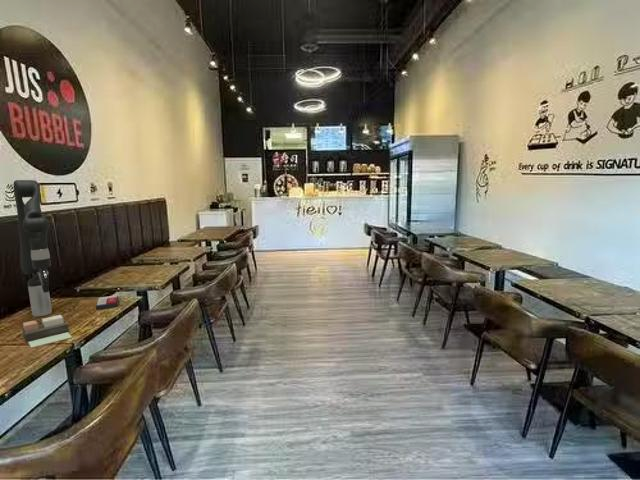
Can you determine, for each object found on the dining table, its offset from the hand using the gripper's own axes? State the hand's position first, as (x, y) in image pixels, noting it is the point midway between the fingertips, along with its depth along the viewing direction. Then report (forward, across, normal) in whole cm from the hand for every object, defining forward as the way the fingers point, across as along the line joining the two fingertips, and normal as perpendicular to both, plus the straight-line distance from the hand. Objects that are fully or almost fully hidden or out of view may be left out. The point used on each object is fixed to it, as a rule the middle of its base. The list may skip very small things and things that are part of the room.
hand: (45, 291), depth 203 cm
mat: (+19, -20, +4) cm, 28 cm away
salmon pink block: (+15, -8, +9) cm, 19 cm away
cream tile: (+15, -8, 0) cm, 17 cm away
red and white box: (+20, +19, -32) cm, 42 cm away
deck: (+19, -9, +4) cm, 21 cm away
